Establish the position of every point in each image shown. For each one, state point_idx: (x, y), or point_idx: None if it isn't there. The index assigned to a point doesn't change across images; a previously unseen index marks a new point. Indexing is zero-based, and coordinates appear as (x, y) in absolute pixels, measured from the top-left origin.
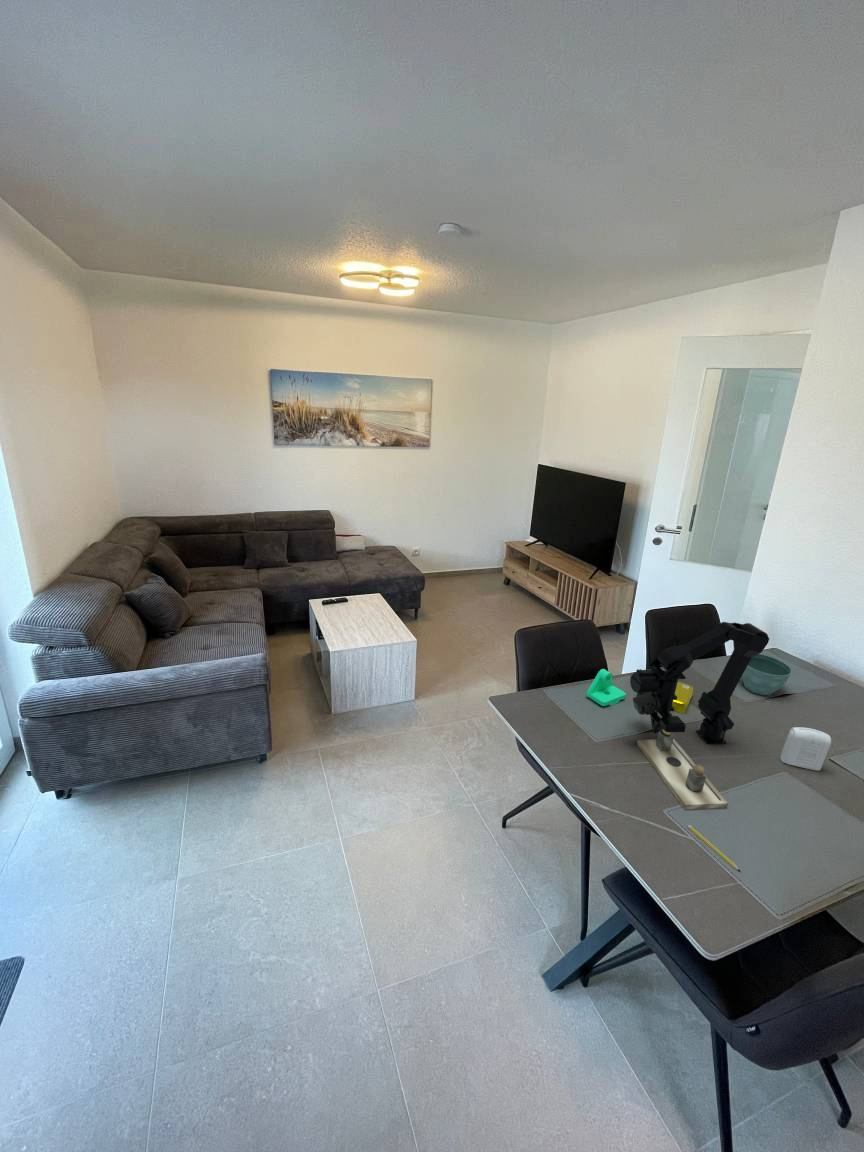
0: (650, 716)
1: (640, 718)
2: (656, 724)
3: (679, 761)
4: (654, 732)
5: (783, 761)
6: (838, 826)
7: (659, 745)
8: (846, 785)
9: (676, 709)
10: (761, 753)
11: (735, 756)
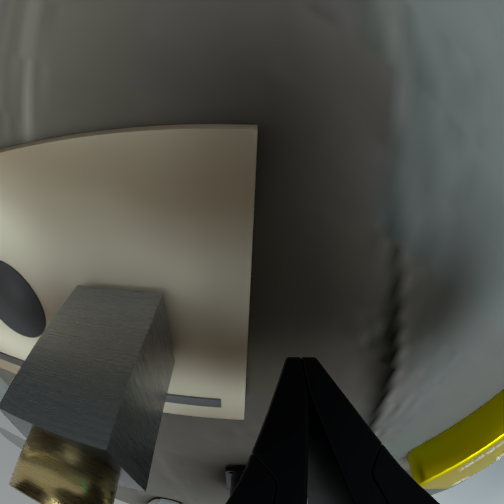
0: (423, 493)
1: (488, 323)
2: (228, 501)
3: (24, 332)
4: (284, 368)
5: (161, 500)
6: (15, 441)
7: (97, 307)
8: (121, 499)
9: (427, 450)
10: (190, 496)
11: (167, 474)
